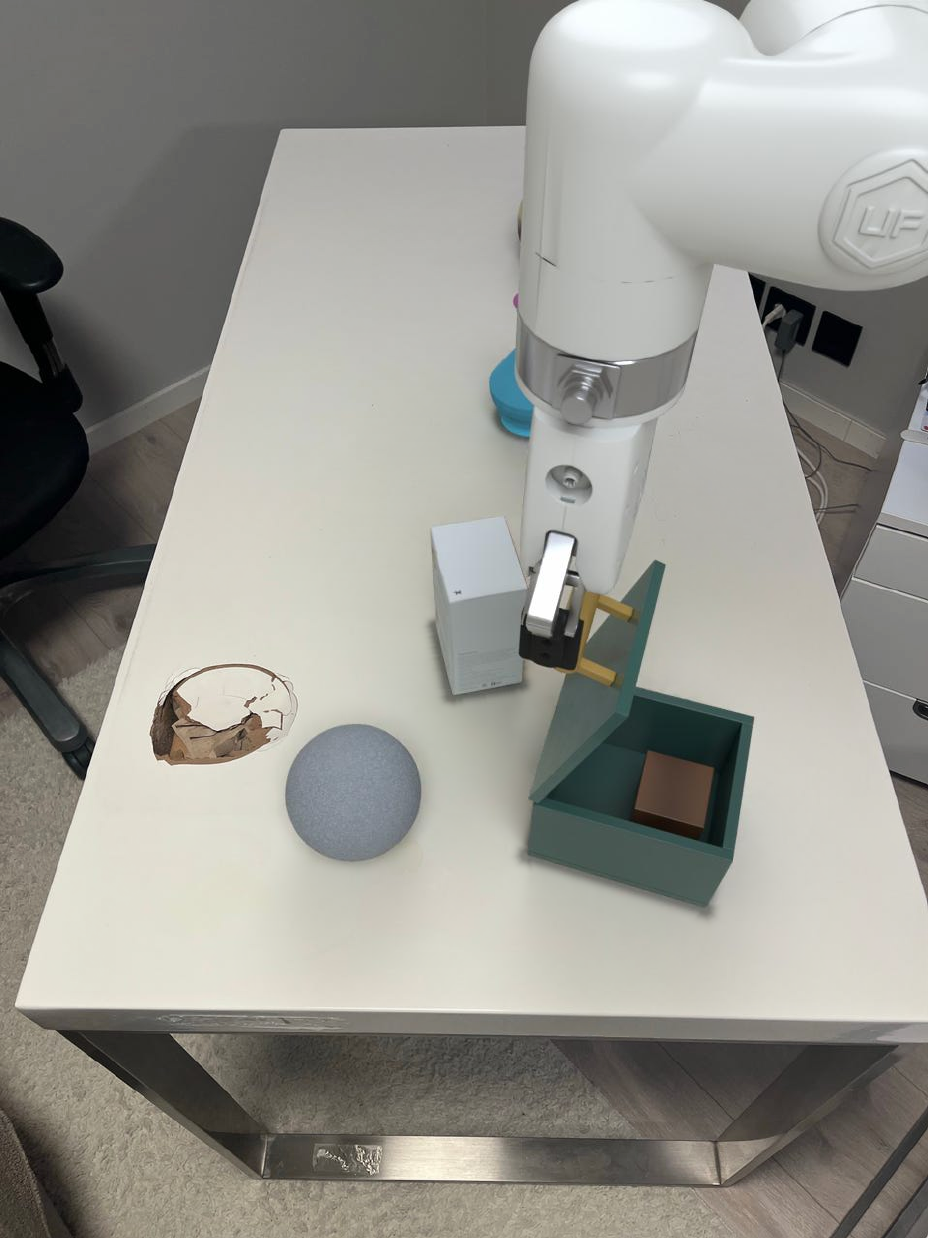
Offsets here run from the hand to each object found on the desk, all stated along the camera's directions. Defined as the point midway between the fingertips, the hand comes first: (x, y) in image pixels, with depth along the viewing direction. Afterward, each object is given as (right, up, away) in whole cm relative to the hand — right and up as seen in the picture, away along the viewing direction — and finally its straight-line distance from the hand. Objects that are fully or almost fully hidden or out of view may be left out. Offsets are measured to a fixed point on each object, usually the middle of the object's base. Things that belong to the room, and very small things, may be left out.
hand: (569, 594), depth 52 cm
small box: (-5, -5, +28) cm, 29 cm away
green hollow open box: (+7, -17, +19) cm, 26 cm away
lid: (+3, -6, +7) cm, 9 cm away
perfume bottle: (+1, +21, +47) cm, 52 cm away
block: (+9, -17, +17) cm, 26 cm away
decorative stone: (-14, -17, +19) cm, 29 cm away
